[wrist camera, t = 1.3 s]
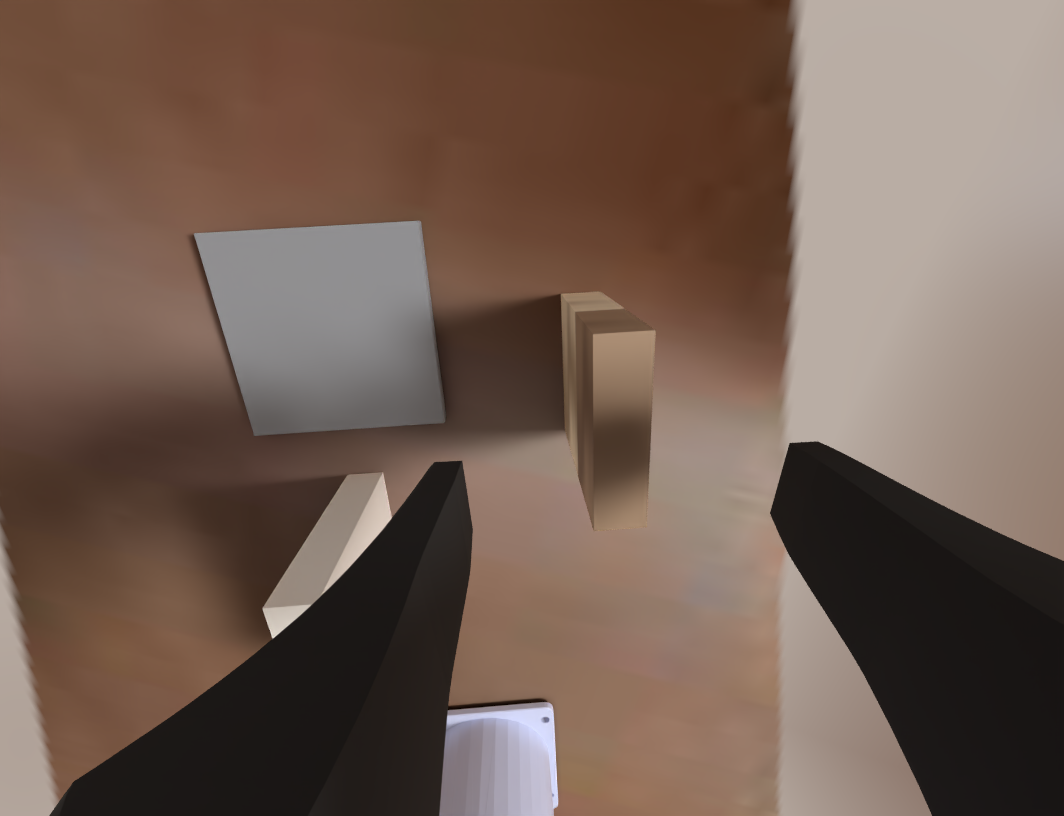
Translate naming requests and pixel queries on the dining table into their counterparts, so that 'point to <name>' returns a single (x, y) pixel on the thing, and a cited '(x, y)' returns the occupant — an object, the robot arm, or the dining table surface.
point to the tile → (330, 547)
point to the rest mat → (328, 325)
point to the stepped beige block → (608, 406)
